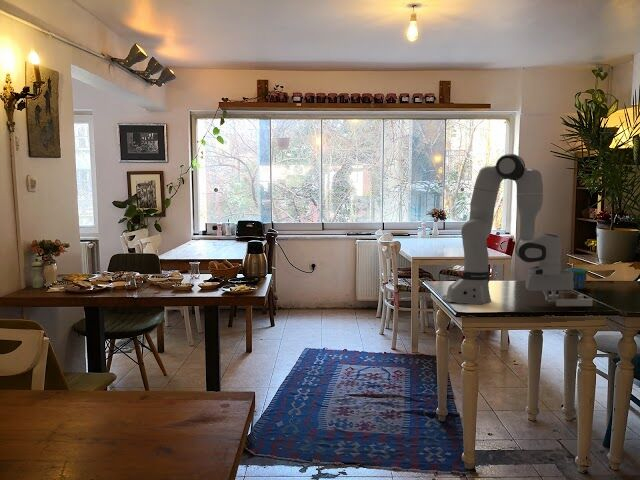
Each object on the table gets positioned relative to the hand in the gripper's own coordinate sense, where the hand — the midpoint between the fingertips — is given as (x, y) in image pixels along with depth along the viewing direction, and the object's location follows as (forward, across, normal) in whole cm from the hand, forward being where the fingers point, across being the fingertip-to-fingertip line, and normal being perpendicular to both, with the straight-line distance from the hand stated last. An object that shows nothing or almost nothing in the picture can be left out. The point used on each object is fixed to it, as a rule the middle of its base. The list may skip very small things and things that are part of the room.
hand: (549, 300), depth 229 cm
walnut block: (+2, -8, 0) cm, 8 cm away
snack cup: (+3, -29, -40) cm, 50 cm away
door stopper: (+3, -16, -28) cm, 33 cm away
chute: (+3, -9, 0) cm, 10 cm away
